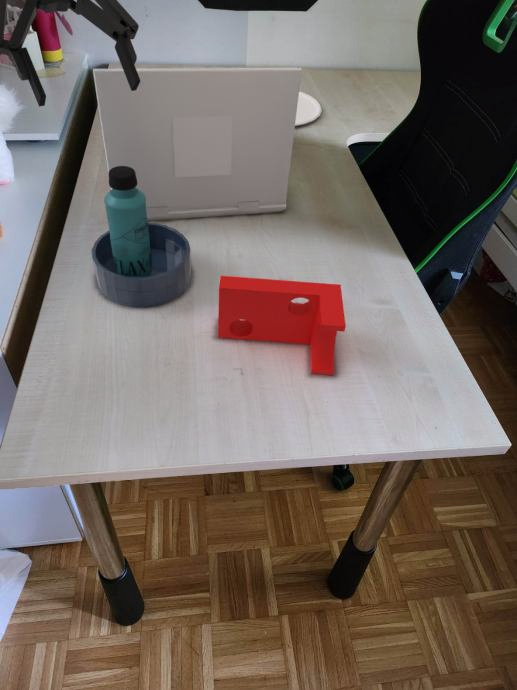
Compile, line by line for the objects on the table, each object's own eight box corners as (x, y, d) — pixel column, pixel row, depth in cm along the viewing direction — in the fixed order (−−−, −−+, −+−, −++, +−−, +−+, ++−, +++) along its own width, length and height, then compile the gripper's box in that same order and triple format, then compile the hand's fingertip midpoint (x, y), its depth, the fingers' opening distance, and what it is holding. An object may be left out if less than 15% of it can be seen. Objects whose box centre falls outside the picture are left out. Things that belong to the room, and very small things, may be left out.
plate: (245, 81, 161) (245, 77, 160) (334, 102, 154) (335, 98, 153) (201, 114, 142) (201, 109, 141) (301, 139, 135) (301, 134, 134)
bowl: (99, 312, 84) (93, 284, 80) (95, 254, 95) (90, 226, 91) (198, 301, 88) (197, 273, 83) (183, 246, 98) (182, 219, 94)
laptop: (257, 156, 127) (266, 24, 106) (285, 214, 109) (303, 69, 89) (111, 162, 119) (90, 22, 99) (116, 225, 102) (92, 71, 81)
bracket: (340, 280, 78) (345, 326, 71) (328, 329, 85) (333, 375, 78) (221, 271, 77) (214, 316, 70) (220, 321, 85) (214, 366, 78)
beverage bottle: (109, 286, 88) (90, 177, 73) (125, 263, 92) (109, 157, 78) (146, 293, 87) (133, 185, 73) (159, 270, 92) (150, 164, 77)
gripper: (111, -45, 78) (163, 92, 81) (-69, -37, 68) (-2, 121, 70) (121, -85, 72) (178, 67, 74) (-76, -83, 61) (-2, 94, 64)
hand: (91, 93), depth 72 cm, fingers open, 13 cm apart
